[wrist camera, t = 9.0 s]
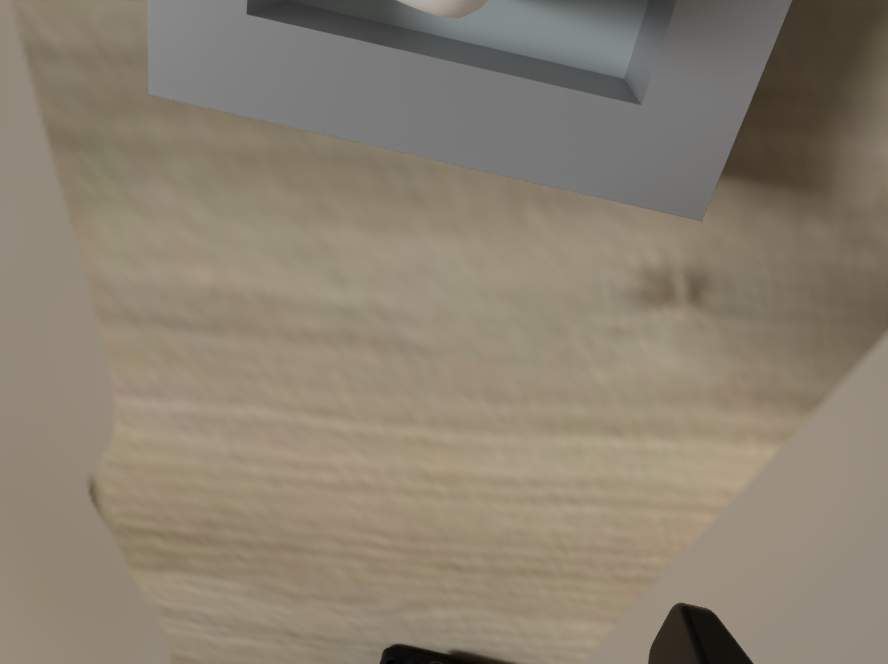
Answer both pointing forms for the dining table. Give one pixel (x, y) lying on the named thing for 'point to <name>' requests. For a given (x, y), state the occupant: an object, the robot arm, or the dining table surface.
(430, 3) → the eye dropper bottle
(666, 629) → the robot arm
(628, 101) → the holder block
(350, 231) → the dining table surface
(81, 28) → the dining table surface
